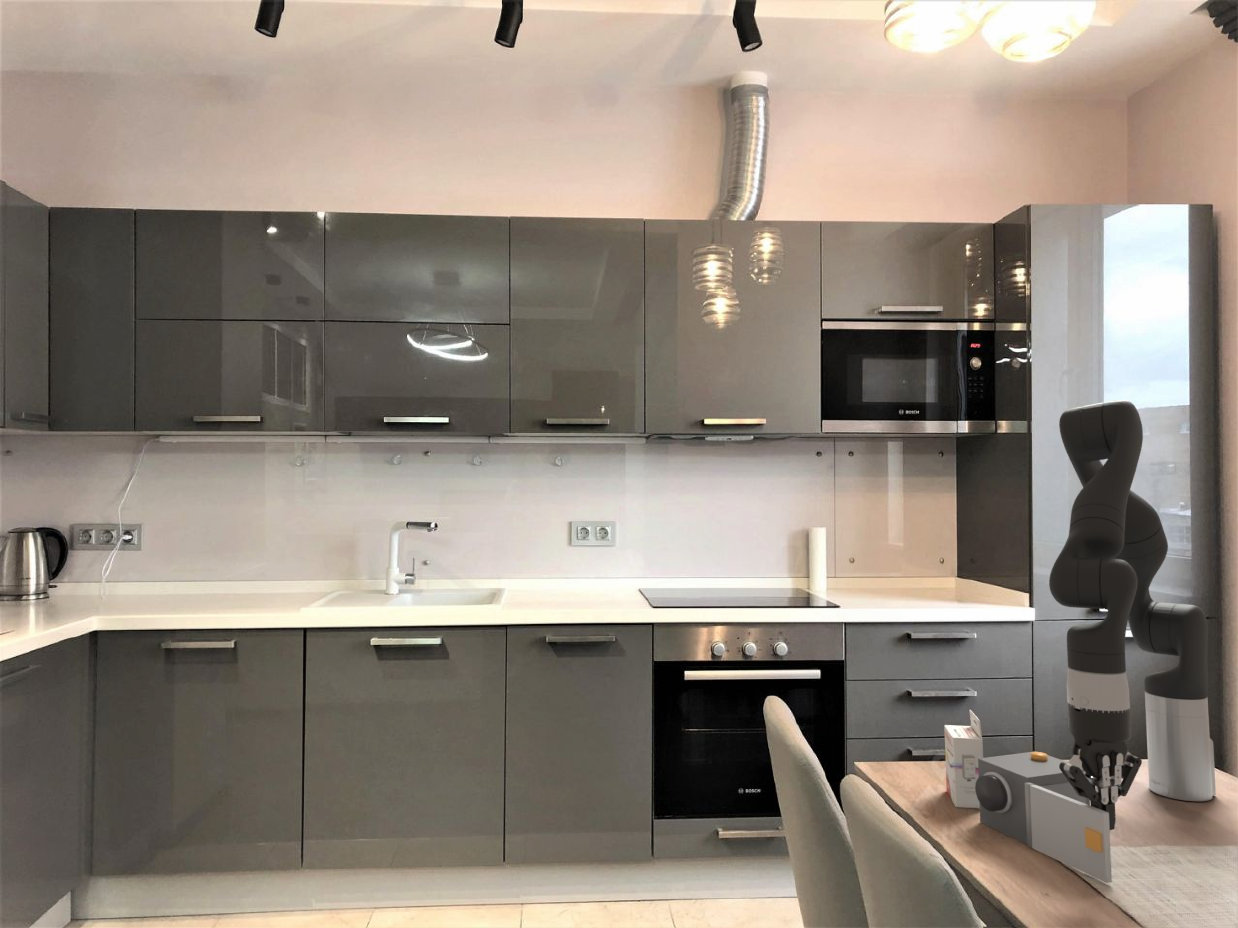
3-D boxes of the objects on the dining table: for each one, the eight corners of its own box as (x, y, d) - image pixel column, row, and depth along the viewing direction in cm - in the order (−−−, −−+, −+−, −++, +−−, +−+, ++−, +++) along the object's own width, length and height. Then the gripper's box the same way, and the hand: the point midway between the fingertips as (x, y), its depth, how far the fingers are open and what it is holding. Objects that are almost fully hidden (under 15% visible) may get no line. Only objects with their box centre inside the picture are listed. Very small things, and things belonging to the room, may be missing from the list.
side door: (1112, 881, 107) (1109, 812, 108) (1102, 883, 107) (1099, 814, 107) (1031, 843, 120) (1029, 781, 120) (1022, 845, 119) (1020, 783, 120)
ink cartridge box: (944, 790, 144) (942, 707, 145) (974, 792, 143) (971, 708, 144) (954, 807, 136) (952, 718, 137) (986, 809, 135) (983, 720, 136)
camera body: (1038, 812, 133) (1036, 746, 134) (1092, 835, 124) (1089, 764, 124) (970, 823, 129) (967, 754, 129) (1020, 848, 119) (1017, 773, 120)
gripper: (1109, 691, 118) (1115, 812, 117) (1039, 700, 114) (1044, 825, 113) (1158, 703, 111) (1164, 831, 110) (1085, 712, 107) (1090, 846, 106)
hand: (1103, 828), depth 111 cm, fingers closed
